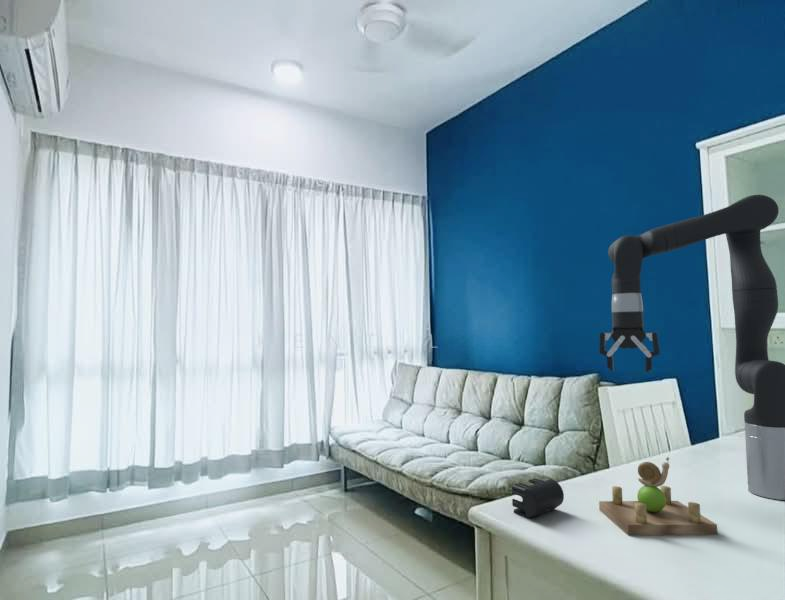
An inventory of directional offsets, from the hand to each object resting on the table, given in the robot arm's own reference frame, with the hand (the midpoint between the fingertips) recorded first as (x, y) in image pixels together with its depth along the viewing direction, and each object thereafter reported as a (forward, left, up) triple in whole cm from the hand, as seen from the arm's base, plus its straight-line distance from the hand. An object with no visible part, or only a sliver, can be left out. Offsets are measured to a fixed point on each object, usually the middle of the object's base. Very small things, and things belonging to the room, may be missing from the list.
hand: (629, 371), depth 124 cm
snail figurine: (-5, +23, -28) cm, 37 cm away
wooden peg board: (-5, +23, -30) cm, 38 cm away
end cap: (+18, +30, -30) cm, 46 cm away
